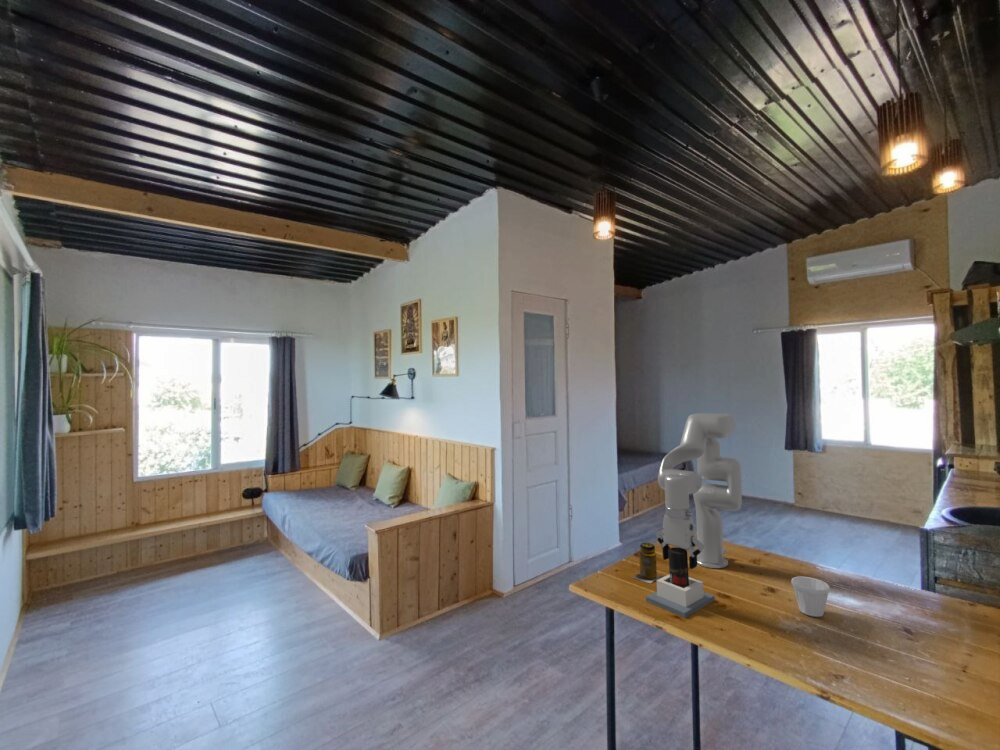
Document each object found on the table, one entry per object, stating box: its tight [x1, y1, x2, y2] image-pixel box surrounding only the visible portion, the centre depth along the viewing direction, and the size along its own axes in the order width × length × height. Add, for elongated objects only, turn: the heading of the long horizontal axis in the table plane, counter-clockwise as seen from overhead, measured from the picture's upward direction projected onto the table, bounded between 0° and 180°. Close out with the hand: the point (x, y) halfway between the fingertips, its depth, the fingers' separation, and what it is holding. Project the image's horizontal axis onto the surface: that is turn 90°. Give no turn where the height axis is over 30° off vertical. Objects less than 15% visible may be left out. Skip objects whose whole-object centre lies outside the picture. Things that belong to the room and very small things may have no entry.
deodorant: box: [668, 546, 690, 588], centre depth 151 cm, size 6×6×15 cm
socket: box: [645, 573, 716, 619], centre depth 151 cm, size 18×14×6 cm
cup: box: [790, 576, 831, 618], centre depth 141 cm, size 10×10×9 cm
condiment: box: [632, 542, 662, 584], centre depth 170 cm, size 7×8×12 cm
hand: (679, 563), depth 152 cm, fingers open, 9 cm apart
